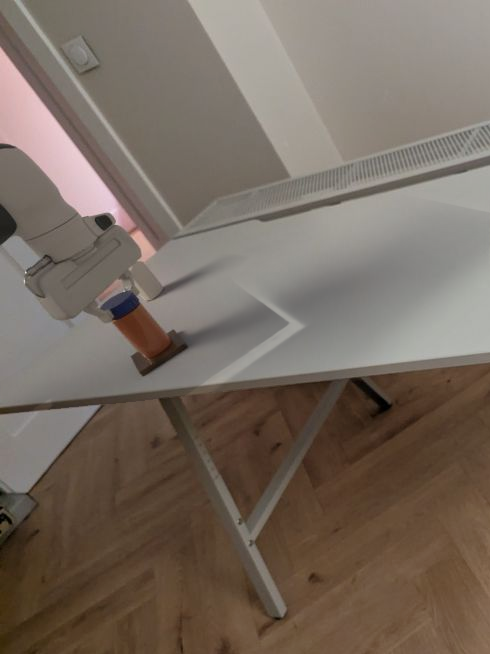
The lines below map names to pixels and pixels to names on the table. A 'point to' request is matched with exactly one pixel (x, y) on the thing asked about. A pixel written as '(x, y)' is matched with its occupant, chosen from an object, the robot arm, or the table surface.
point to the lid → (121, 303)
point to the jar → (142, 331)
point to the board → (159, 355)
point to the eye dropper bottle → (145, 281)
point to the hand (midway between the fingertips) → (123, 307)
